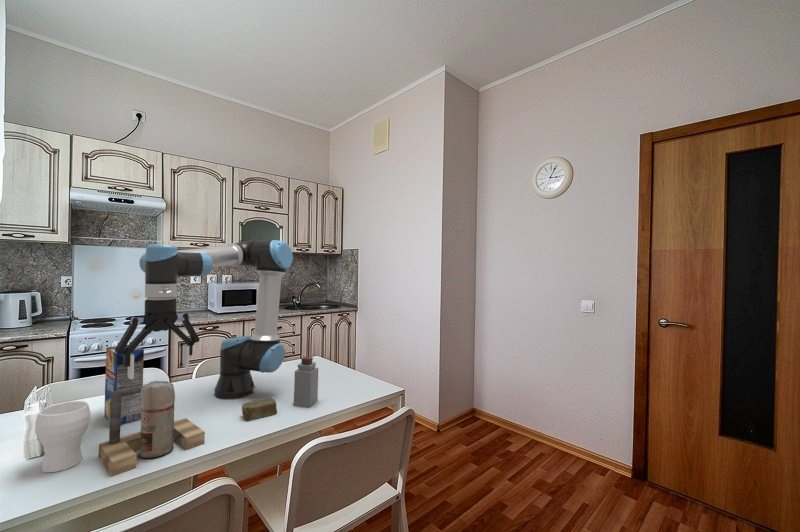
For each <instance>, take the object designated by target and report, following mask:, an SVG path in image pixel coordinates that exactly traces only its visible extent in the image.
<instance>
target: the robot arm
mask: <svg viewBox="0 0 800 532" xmlns="http://www.w3.org/2000/svg"><path fill="white" fill-rule="evenodd" d="M293 260H294V256H293V250H292V248H291V246H290V245H289V244H288V243H287V242H286V241H283V240H277V239H267V240H266V239H265V240H264V239H261V240H260V239H259V240H258V239H253V240H246V241H240V242H234V243H228V244H227V245H226V246H217V247H216V246H214V247H213V246H212V247H203V248H191V249H189V248H188V249H179V250H178V246H177V245H174V244H160V243H159V244H157V243H155V244H154V243H153V244H151V243H150V244H148V245H147V246H146V249H145V253H143V254H142V255H141V257H140V258H139V262H138V263H139V268H140V269H141V271H142V272H144V273H145V274H144V277H145V278H144V282H145V284H144V297H145V298H146V299H145V300H144V315H143V317H135V316H131V317H130V319H129V325H128V327H127V329H126V330H125V332H124V333H123V335H122V337H121V339H120V340H119V342H118V343H117V345H116V346H117V347H116V349H115V352H116V353H117V354H123V365H124V366H125V367H128V378H129V379H134V354H132V352H133V351H134V350H135V348H136V347H137V346H138V347H139V345H140V344H142V342H143V341H144V340H145V339H146V338H147V337H148V336H149V335H150V334H151V333H152V332H155V333H156V332H161V331H163V332H165V331H166V332H167V331H169V330H171V331H172V332H174V334H176V335H177V337H179V338H180V339H181V340H182V341H183V342H184V343H185V344H182V367H184V368H185V369H188V368H190V356H193V350H194V349H193V348H194V346H195V344H196V343H199V342H200V337H199V335H198V334H197V332H196V330H195V328H194V327H193V325H192V323H191V321H190V317H189V314H188V313H186V312H181V313H177V299H176V298H175V297H177V294H178V293H177V288H178V287H177V286H178V284H177V283H178V278H180V277H184V278H185V277H199V278H200V277H203V276H207V275H209V274H211V272H212V271H213V268H217V267H224V266H230V267H233V268H234V267H248V268H249V267H250V268H256V270H255V272H256V273H257V274H258V276H259V280H258V291H257V302H256V303H257V305H256V312H255V323H254V333H253V335H252V336H251V335H250V336H249V335H243V336H234V337H230V338H226V339H224V340H222V342H221V343H220V349H219V350H220V352H219V353H220V354H219V358H220V359H219V360H220V361H219V363H220V364H219V377H218V380H217V382H216V385H215V388H214V397H216V398H218V399H223V400H232V399H233V400H234V399H240V398H245V397H247V396H250V395H252V394H254V392H255V382H254V379H253V377H252V373H251V372H252V371H253V372H260V373H262V374H263V373H270V374H271V373H274V372H276V371H277V370H278V369H279V368H280V367H281V365H282V364H283V362H284V359H285V356H286V348H285V347H284V345H283V344H281V337H280V336H279V335H278V323H279V322H278V321H279V311H280V299H281V287H282V277H283V276H285V274H286V272H287V269H289V268H290V267H291V266H292V264H293ZM178 320H179V321H181V322H182V325H183V326H184V328H185V329H186V331H187V333H188V334H189V336H188V335H186V334H185V333H184V332H183V330H181V329H180V328H179V326H177V324H175V323H176V322H177V321H178ZM141 323H143V324H144V325H145V326H144V327H142V329H141V331H140V332H139V333H138V334H137V335H136V336H135V337H134V338H133V340H131V339H132V337H133V335H134V334H135V331H136V330H137V328H138V326H140V325H141ZM189 337H190V338H191V339H190V338H189ZM130 340H131V342H130V343H129V341H130ZM127 345H128V346H127ZM126 346H127V347H126ZM125 347H126V348H125Z"/></svg>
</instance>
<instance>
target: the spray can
mask: <svg viewBox="0 0 800 532" xmlns="http://www.w3.org/2000/svg"><path fill="white" fill-rule="evenodd" d="M175 393H176V392H175V387H174V384H173V383H172V382H169V381H166V380H154V381H150V382H148V383H145V384H143V387H142V388H141V406H140V408H141V420H140V429H139V430H140V431H141V436H140V449H139V452H138V457H140V458H147V459H152V458H153V459H154V458H157V457H161V456H163V455H165V454H166V455H167V453H168V454H169V453H170V452H172V451H173V450H174V439H173V434H174V422H175V401H176V394H175Z"/></svg>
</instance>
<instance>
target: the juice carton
mask: <svg viewBox="0 0 800 532" xmlns="http://www.w3.org/2000/svg"><path fill="white" fill-rule="evenodd" d="M128 345H129V344H127V346H128ZM127 346H126V347H127ZM116 347H117V345H115V346H109V347H106V351H105V352H106V354H105V356H106V357H105V377H104V378H105V383H104V384H105V385H104V414H103V416H104V418H105V419H106V420H107V421H108V422H109V423H110V396H111V392H113V391H122V392H126V391H130V390H135V389H140V388H142V387H143V386H144V361H145V360H144V359H145V357H144V355H145V349H144V348H141V347H140V346H139V345H138V346H137V347H136V348H135V350H134V351H133V352H132V354H134V379H129V378H128V367H125V366H124V365H123V354H117V353H116V352H115V349H116ZM126 347H125V348H126ZM140 406H141V393H136V394H132V395H127V396H123V397H121V426H123V425H127V424H129V423H134V422H137V421H141V408H140Z"/></svg>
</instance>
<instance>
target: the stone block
mask: <svg viewBox="0 0 800 532" xmlns="http://www.w3.org/2000/svg"><path fill="white" fill-rule="evenodd" d="M277 412H278V410H277V402H276V399H274V398H273V397H268V398H262V399H258V400H251V401H249V402H244V403H242V405H241V413H242V418H243V419H244V420H245V421H247V422H249V421H253V420H258V419H261V418H262V419H263V418H266V417H269V416H270V417H271V416H274V415H276V414H277Z"/></svg>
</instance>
